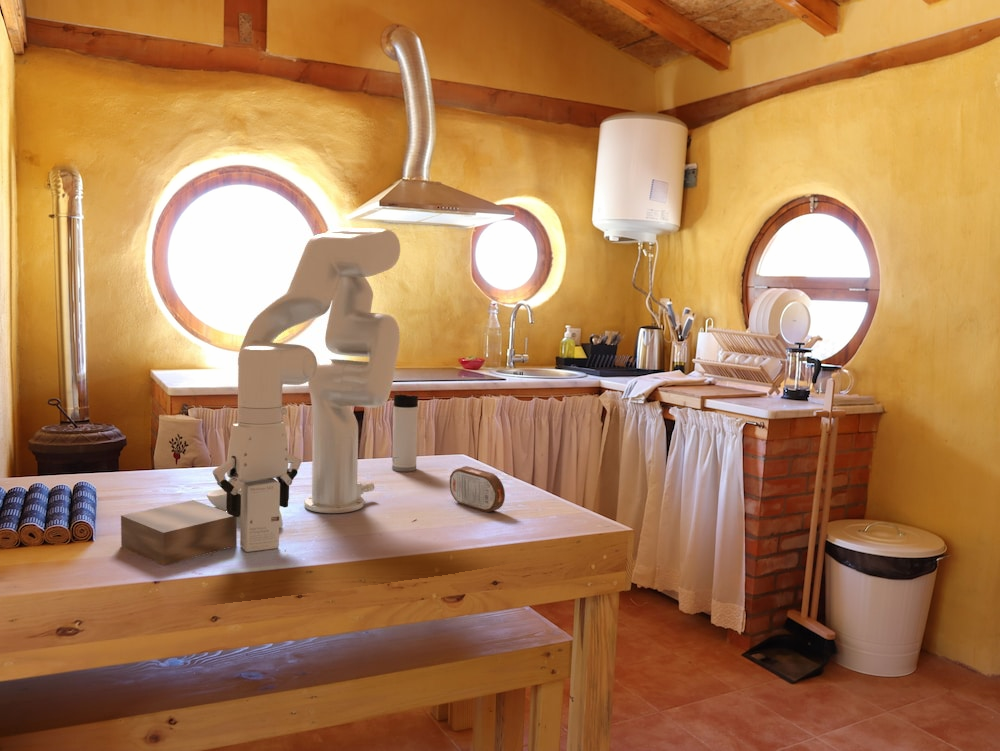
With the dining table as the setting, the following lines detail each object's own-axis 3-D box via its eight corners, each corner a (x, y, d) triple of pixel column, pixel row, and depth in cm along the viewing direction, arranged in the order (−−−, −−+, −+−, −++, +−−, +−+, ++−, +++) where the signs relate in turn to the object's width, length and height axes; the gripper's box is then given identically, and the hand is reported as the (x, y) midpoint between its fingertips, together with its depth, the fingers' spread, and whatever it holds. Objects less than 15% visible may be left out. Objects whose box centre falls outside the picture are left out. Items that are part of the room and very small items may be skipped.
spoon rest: (198, 506, 168) (198, 473, 167) (252, 498, 175) (252, 466, 175) (243, 536, 150) (243, 499, 149) (301, 526, 158) (301, 490, 157)
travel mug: (388, 471, 204) (390, 394, 202) (396, 465, 210) (397, 390, 208) (412, 473, 203) (414, 395, 201) (418, 467, 209) (421, 392, 207)
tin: (505, 513, 171) (506, 475, 170) (495, 516, 168) (496, 477, 167) (456, 499, 181) (457, 462, 180) (446, 501, 178) (447, 464, 177)
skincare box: (246, 553, 140) (246, 486, 139) (239, 545, 144) (239, 480, 143) (280, 548, 144) (281, 482, 142) (272, 540, 147) (273, 476, 146)
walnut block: (193, 530, 152) (193, 500, 152) (236, 547, 144) (236, 515, 143) (121, 548, 141) (120, 515, 141) (164, 567, 133) (163, 532, 132)
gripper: (288, 409, 150) (287, 498, 152) (203, 417, 137) (202, 514, 138) (313, 414, 145) (311, 506, 147) (226, 423, 132) (225, 523, 134)
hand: (258, 510), depth 143 cm, fingers open, 9 cm apart
